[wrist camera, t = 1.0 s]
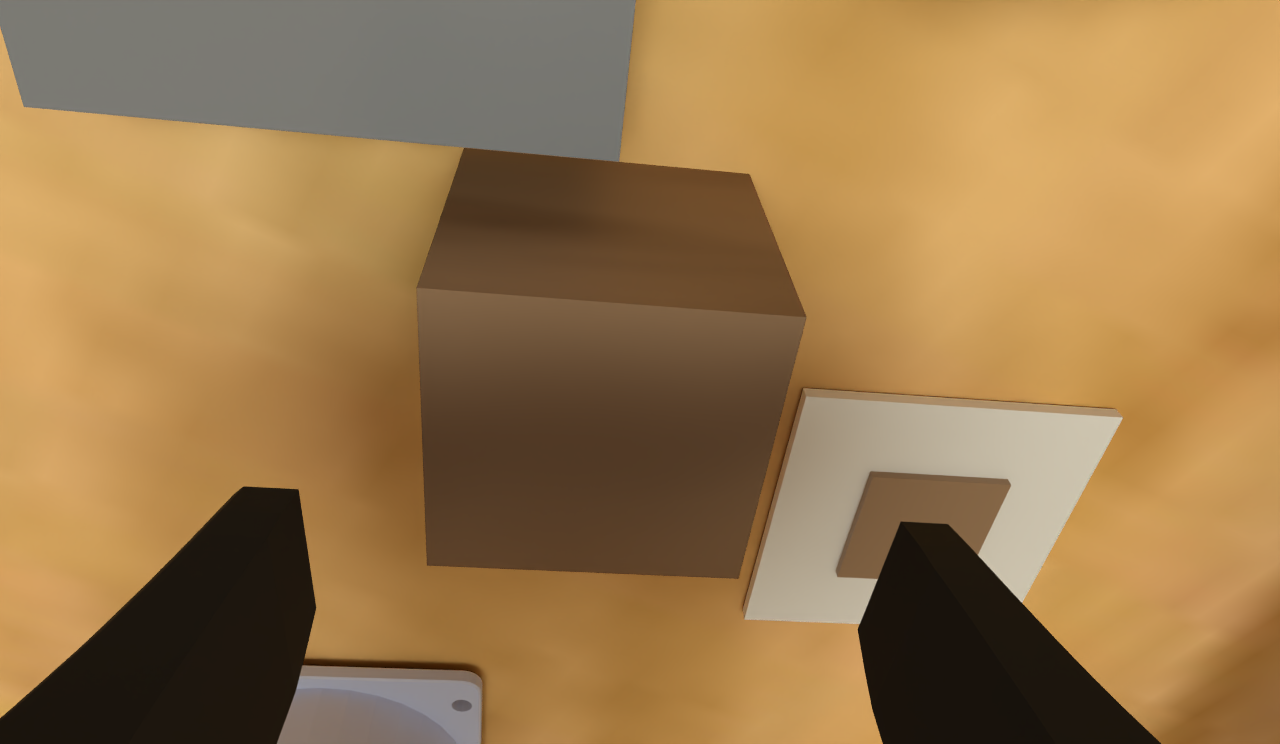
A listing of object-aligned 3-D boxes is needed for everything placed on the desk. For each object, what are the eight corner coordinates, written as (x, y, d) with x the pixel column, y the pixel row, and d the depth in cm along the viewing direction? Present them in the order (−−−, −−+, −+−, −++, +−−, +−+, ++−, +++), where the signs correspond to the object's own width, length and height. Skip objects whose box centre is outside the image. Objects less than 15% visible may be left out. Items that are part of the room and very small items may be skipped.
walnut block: (704, 397, 18) (738, 578, 14) (465, 381, 18) (427, 565, 14) (748, 172, 15) (805, 317, 11) (464, 145, 15) (416, 287, 11)
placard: (1002, 620, 23) (1010, 635, 22) (742, 609, 22) (745, 626, 21) (1115, 409, 19) (1128, 423, 18) (803, 388, 18) (808, 402, 18)
